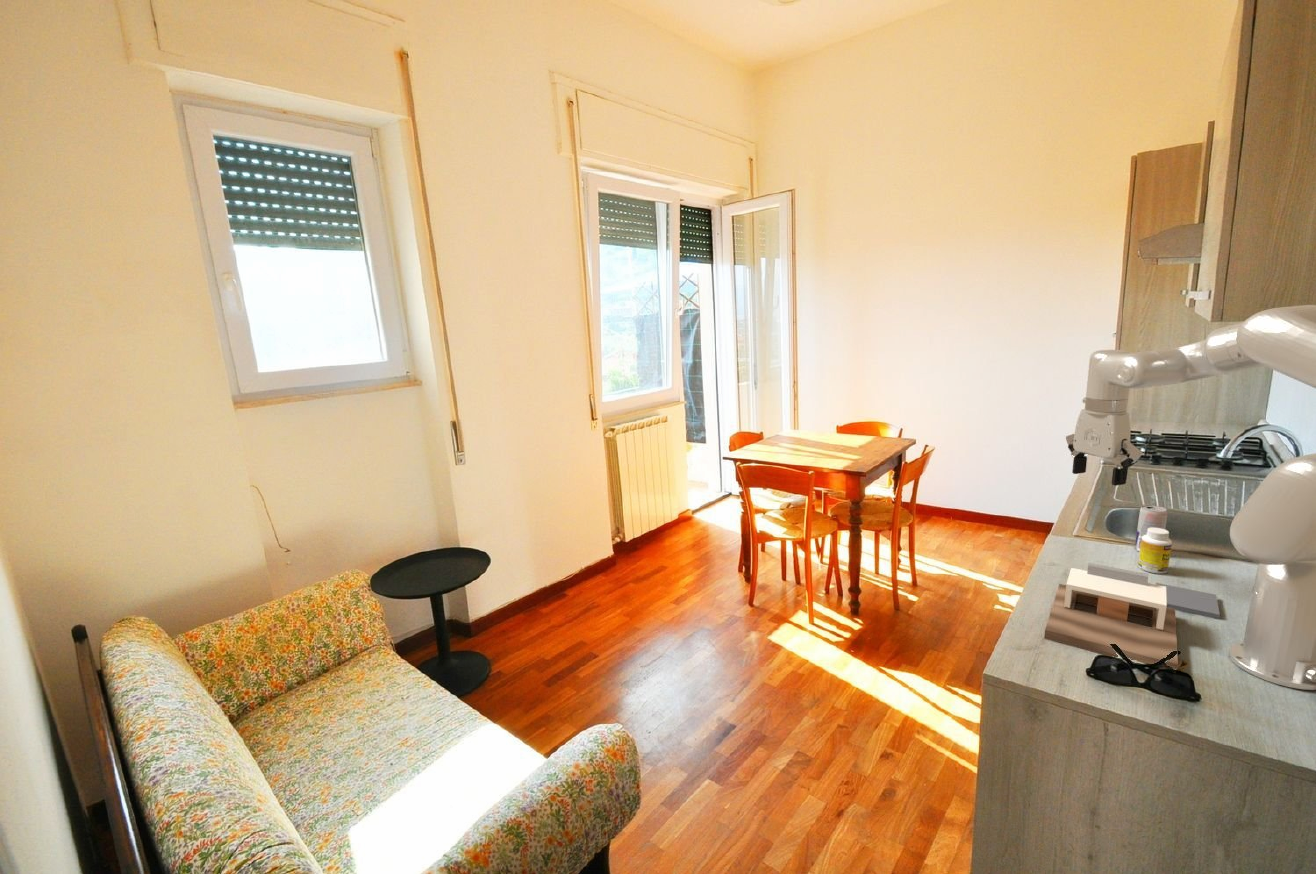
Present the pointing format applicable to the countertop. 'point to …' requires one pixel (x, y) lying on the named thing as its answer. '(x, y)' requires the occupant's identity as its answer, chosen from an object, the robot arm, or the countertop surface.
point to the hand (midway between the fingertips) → (1098, 478)
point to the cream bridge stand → (1118, 587)
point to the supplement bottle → (1155, 551)
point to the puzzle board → (1112, 630)
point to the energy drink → (1149, 521)
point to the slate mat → (1192, 601)
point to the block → (1112, 608)
